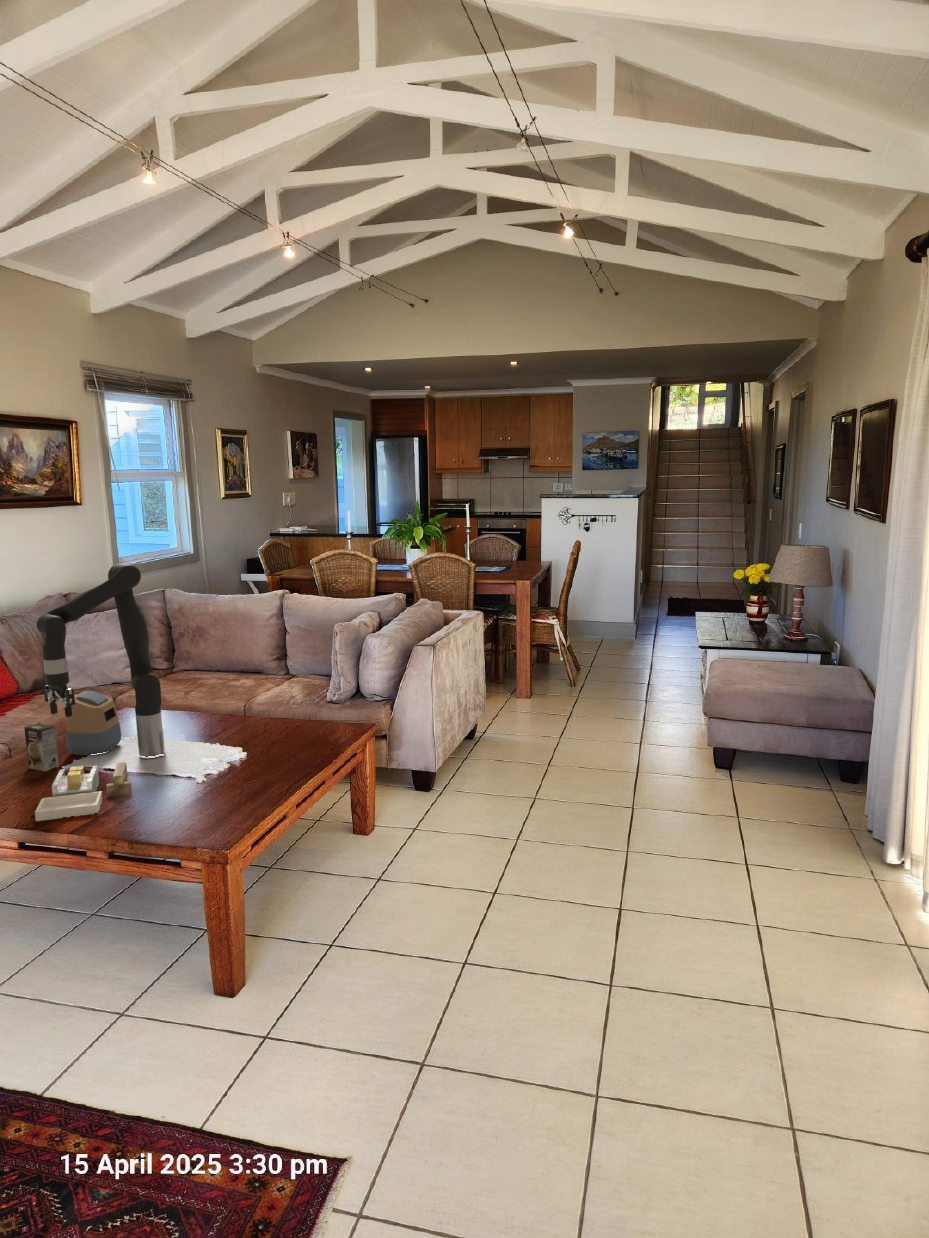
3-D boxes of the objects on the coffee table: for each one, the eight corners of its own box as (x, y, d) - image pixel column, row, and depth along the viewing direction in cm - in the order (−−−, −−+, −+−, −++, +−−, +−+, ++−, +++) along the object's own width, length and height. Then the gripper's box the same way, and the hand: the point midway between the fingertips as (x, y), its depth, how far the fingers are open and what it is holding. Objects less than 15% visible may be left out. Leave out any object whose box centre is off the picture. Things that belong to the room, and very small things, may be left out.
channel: (99, 782, 282) (97, 765, 281) (93, 799, 267) (91, 781, 266) (61, 787, 278) (60, 769, 277) (53, 804, 263) (51, 785, 262)
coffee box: (27, 768, 298) (23, 727, 295) (43, 762, 304) (38, 722, 301) (44, 771, 294) (39, 729, 291) (59, 766, 300) (55, 724, 297)
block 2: (82, 781, 273) (81, 770, 272) (80, 785, 269) (79, 774, 268) (69, 783, 271) (68, 771, 271) (67, 787, 268) (66, 775, 267)
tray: (102, 799, 267) (101, 791, 266) (98, 813, 256) (97, 804, 255) (43, 806, 262) (42, 798, 261) (35, 821, 250) (34, 812, 250)
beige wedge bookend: (107, 797, 269) (105, 777, 268) (111, 782, 282) (110, 763, 281) (131, 794, 271) (129, 774, 270) (134, 779, 285) (133, 761, 283)
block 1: (84, 776, 277) (83, 765, 277) (83, 780, 274) (81, 769, 273) (72, 778, 276) (70, 767, 275) (70, 782, 272) (69, 770, 272)
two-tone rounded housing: (106, 757, 309) (101, 699, 305) (64, 757, 310) (58, 699, 306) (125, 743, 326) (120, 688, 322) (85, 743, 326) (79, 688, 322)
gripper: (78, 670, 280) (83, 714, 283) (54, 666, 287) (59, 709, 290) (58, 675, 274) (63, 720, 276) (34, 671, 281) (39, 715, 284)
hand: (61, 715), depth 283 cm, fingers open, 8 cm apart
